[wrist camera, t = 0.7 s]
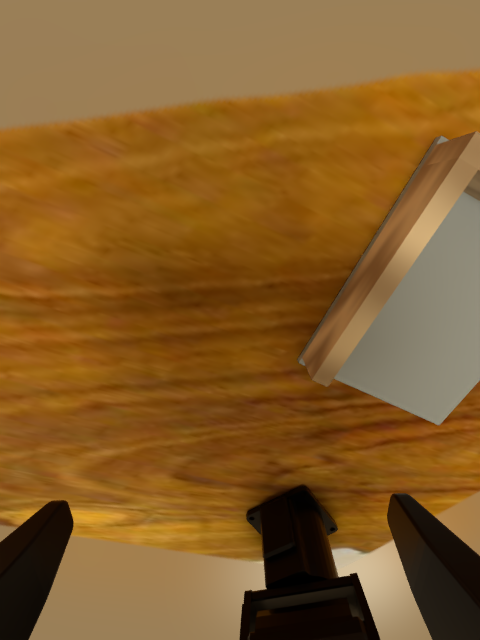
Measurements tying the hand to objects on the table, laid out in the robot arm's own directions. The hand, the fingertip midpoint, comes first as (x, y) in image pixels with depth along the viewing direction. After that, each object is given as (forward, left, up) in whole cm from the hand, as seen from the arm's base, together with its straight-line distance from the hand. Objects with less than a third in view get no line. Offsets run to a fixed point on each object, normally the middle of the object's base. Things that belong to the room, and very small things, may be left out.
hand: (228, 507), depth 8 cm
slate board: (-6, -13, -14) cm, 20 cm away
